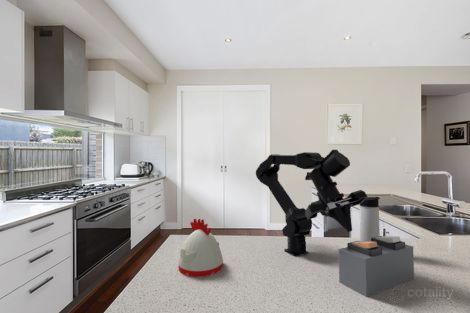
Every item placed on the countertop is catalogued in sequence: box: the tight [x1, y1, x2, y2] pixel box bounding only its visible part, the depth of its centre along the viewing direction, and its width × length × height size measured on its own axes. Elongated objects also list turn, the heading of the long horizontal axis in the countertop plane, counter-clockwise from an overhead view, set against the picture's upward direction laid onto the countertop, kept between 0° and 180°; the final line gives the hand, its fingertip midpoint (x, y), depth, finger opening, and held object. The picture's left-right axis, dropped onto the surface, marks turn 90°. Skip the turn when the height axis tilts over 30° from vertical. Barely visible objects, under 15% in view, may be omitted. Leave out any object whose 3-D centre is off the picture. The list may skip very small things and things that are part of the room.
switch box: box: [338, 235, 415, 297], centre depth 68 cm, size 8×20×10 cm, turn 116°
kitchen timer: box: [178, 218, 224, 278], centre depth 78 cm, size 14×14×15 cm
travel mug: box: [358, 196, 381, 242], centre depth 89 cm, size 6×7×20 cm
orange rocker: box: [352, 240, 378, 248], centre depth 66 cm, size 5×3×1 cm, turn 26°
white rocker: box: [375, 235, 401, 243], centre depth 70 cm, size 5×3×1 cm, turn 26°
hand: (350, 231), depth 71 cm, fingers closed
